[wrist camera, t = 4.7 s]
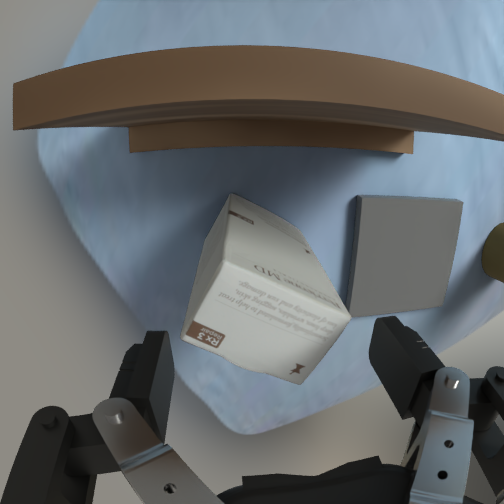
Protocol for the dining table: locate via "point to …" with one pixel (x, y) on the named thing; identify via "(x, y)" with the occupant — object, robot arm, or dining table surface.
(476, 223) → the dining table surface
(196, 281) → the skincare box
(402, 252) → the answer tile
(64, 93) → the walnut screen
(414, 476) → the robot arm
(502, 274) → the olive stepped cylinder
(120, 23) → the dining table surface
